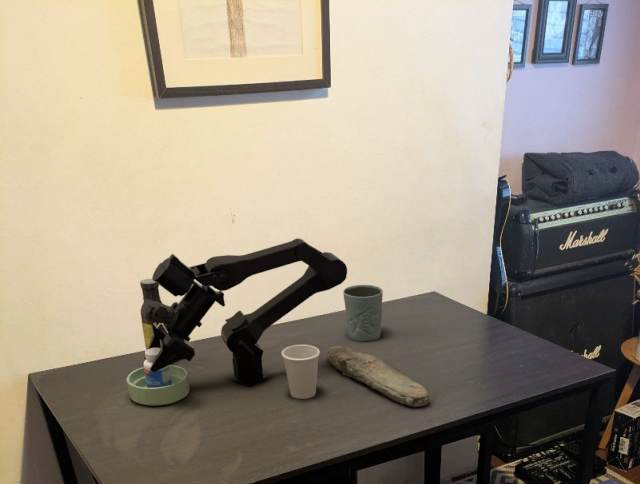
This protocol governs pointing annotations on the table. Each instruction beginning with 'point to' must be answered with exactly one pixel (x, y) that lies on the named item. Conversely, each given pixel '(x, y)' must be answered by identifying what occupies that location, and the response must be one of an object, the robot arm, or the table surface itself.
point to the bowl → (159, 394)
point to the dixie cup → (301, 370)
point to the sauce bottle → (149, 293)
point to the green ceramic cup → (363, 312)
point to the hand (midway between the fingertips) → (148, 365)
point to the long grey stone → (377, 375)
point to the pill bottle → (158, 377)
